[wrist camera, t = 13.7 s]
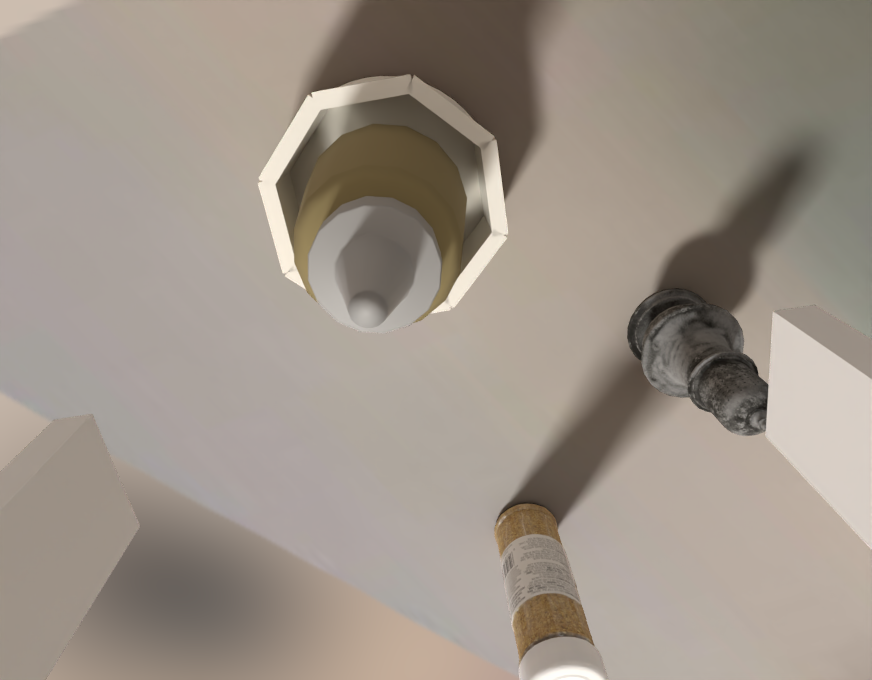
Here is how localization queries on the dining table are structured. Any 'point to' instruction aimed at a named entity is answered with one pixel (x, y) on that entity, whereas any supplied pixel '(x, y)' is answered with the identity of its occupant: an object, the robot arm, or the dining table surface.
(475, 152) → the crock
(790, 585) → the dining table surface
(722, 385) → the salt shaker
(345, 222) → the squeeze bottle
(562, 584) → the sprinkles bottle
